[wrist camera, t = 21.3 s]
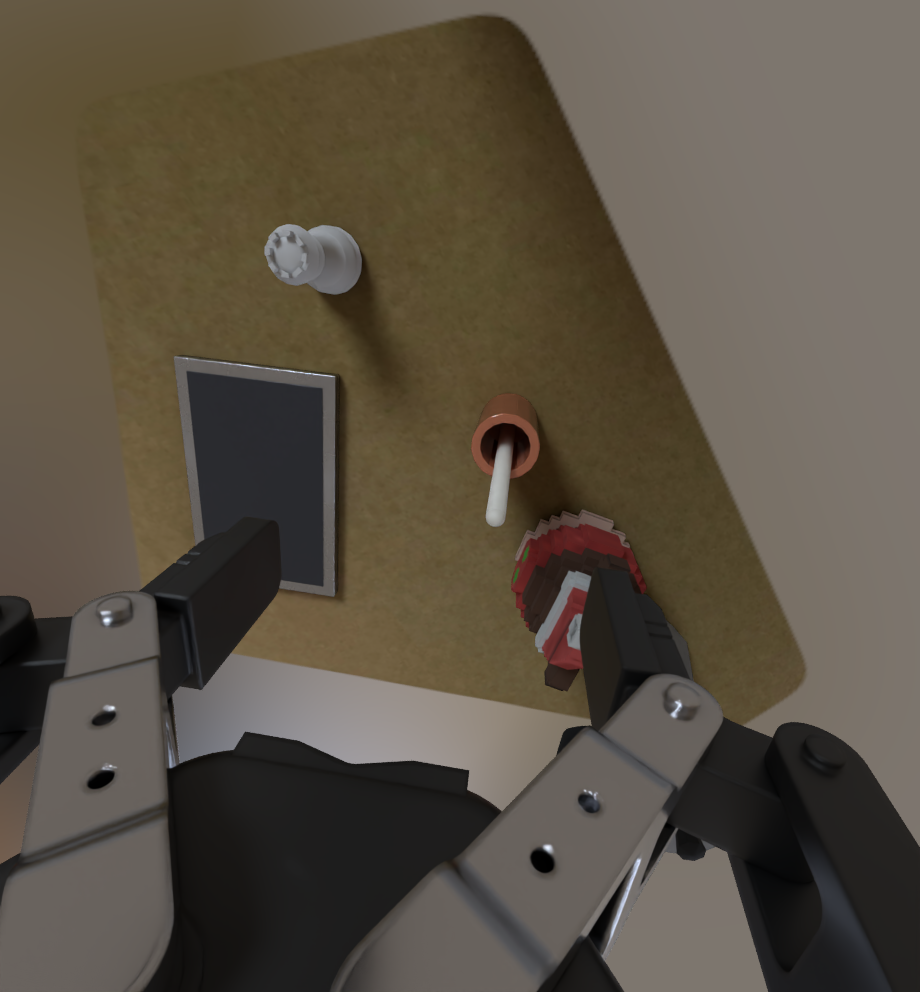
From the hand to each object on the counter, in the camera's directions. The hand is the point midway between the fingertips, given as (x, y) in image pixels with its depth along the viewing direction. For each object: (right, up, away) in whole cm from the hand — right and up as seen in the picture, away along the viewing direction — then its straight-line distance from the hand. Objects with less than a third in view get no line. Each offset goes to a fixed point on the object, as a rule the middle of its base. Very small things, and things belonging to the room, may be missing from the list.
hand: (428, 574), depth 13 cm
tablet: (-16, +3, +31) cm, 35 cm away
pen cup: (+5, +8, +27) cm, 28 cm away
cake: (+10, -3, +31) cm, 32 cm away
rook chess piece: (-8, +19, +24) cm, 32 cm away
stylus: (+5, +8, +26) cm, 27 cm away
